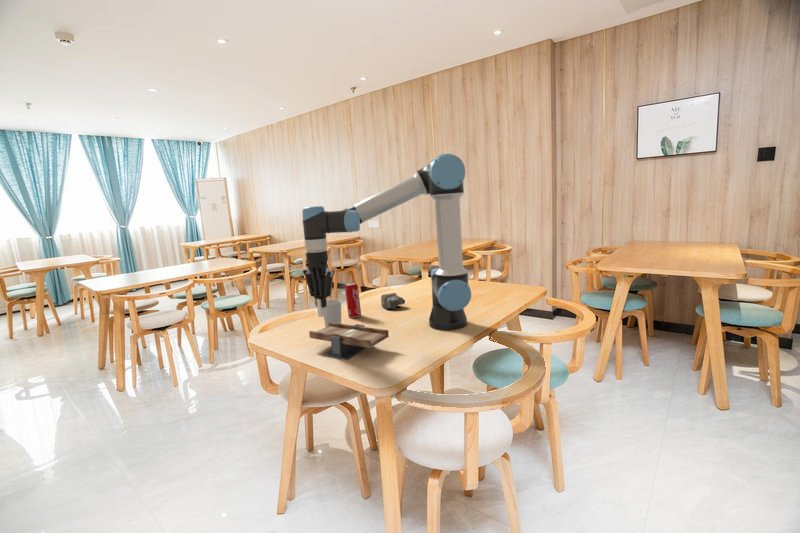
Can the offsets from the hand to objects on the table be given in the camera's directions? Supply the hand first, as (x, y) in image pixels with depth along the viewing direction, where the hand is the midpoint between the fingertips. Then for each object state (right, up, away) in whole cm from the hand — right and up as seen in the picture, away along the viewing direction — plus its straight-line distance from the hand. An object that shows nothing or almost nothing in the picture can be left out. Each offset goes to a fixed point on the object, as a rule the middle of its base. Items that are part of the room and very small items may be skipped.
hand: (322, 315), depth 145 cm
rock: (+24, -2, +47) cm, 53 cm away
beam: (+10, -6, -5) cm, 13 cm away
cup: (+1, -8, +18) cm, 20 cm away
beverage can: (+8, -5, +36) cm, 37 cm away
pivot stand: (+10, -11, -4) cm, 16 cm away
